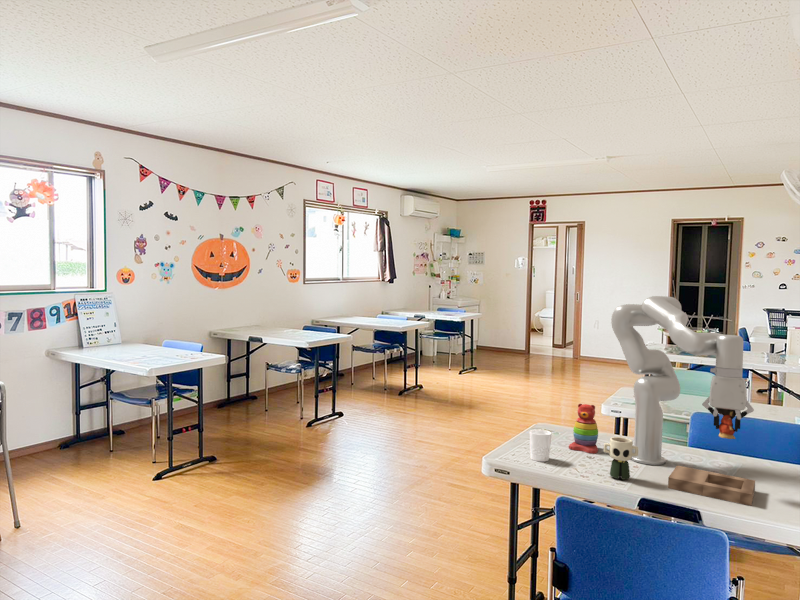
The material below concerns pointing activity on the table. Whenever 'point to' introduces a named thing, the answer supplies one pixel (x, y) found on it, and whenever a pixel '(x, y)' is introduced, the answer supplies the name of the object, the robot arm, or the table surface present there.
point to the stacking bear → (585, 430)
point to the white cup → (540, 445)
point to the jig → (712, 485)
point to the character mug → (620, 456)
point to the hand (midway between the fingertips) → (726, 429)
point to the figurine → (726, 423)
